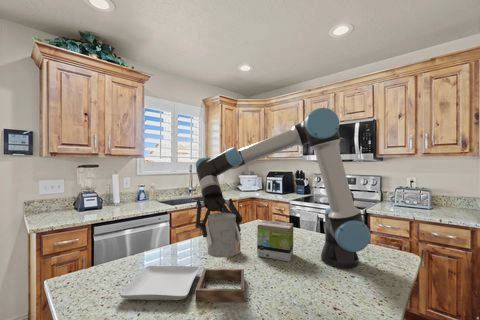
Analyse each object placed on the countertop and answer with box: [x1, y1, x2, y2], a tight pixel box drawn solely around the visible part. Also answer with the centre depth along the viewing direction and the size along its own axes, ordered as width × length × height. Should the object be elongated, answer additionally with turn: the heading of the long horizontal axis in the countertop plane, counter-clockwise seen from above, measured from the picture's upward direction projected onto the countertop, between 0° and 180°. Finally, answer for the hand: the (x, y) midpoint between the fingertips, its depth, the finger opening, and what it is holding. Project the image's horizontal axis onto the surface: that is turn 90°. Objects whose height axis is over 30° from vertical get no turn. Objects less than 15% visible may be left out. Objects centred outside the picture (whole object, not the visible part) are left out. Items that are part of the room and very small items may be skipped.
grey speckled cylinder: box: [207, 212, 236, 259], centre depth 81 cm, size 10×10×12 cm
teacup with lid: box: [233, 232, 242, 256], centre depth 116 cm, size 12×9×12 cm
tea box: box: [256, 219, 294, 262], centre depth 111 cm, size 15×10×15 cm, turn 68°
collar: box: [195, 268, 245, 303], centre depth 81 cm, size 15×15×4 cm
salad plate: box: [119, 265, 201, 301], centre depth 82 cm, size 21×21×3 cm
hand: (225, 243), depth 79 cm, fingers closed on grey speckled cylinder, 9 cm apart
